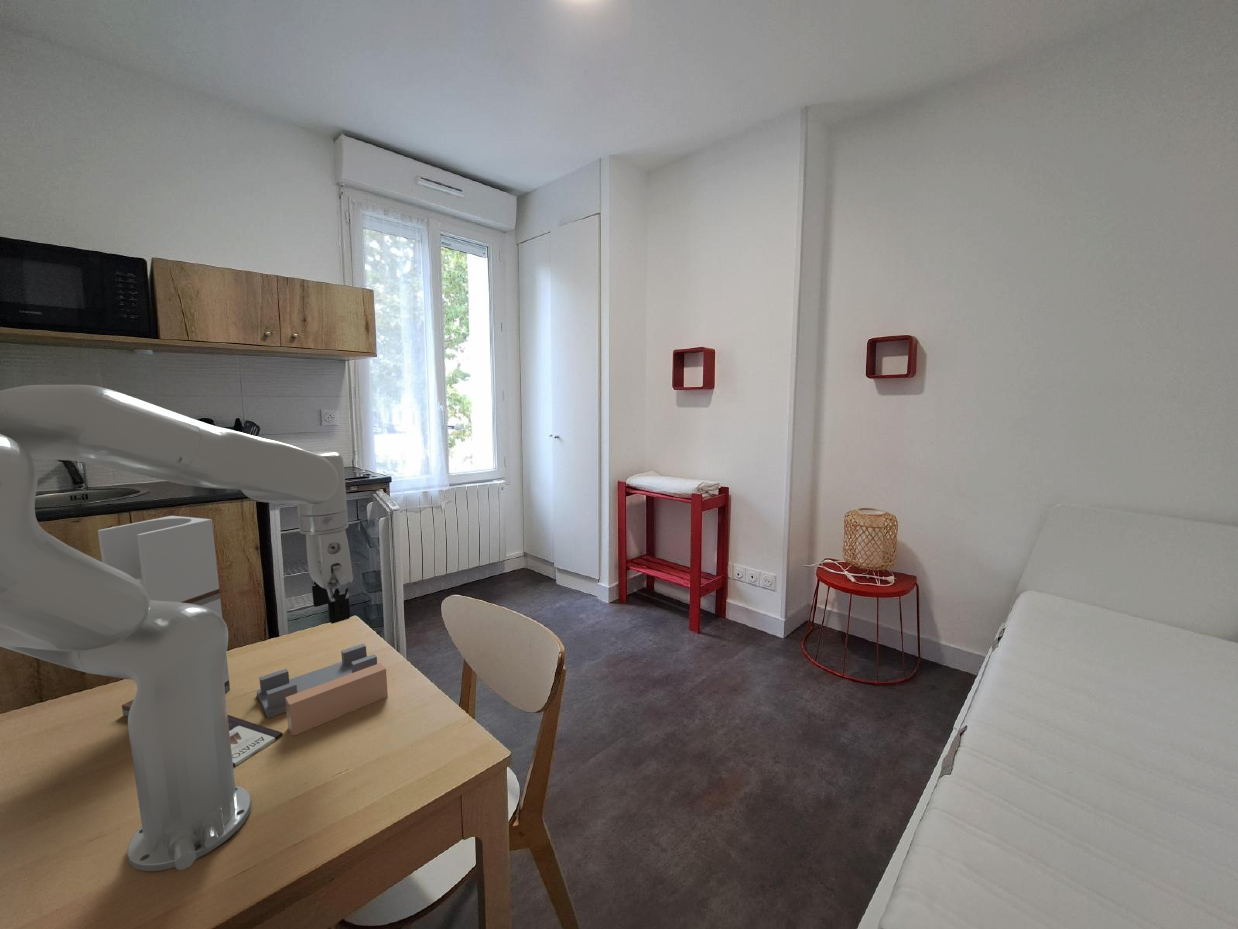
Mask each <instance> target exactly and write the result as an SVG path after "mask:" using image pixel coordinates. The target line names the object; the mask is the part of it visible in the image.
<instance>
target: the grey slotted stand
mask: <svg viewBox="0 0 1238 929" xmlns="http://www.w3.org/2000/svg"><path fill="white" fill-rule="evenodd" d="M366 645H367V644H366ZM366 645H365V643H361V644H358V645H355V646H352V647H349V648H346V649H343V650H341V651H340V653H341V661H340V662H337V663H334V664H331V665H328V666H326V667H322V668H319V669H317V670H314V671H311V672H308V673H304V674H302V675H298V676H295V677H293V678H290V674H289V670H288V668H284V669H281V670H277V671H275V672H272V673H269V674H266V675H265V674H264V675H263V676H259V677H258V678H259V687H260V689H257V690H256V696H257V698H258V700H259V703H260V705H261V707H262V709H263V711H264V713H265V716H266V717H267V719H270V718H273V717H276V716H279V715H280V714H283V713H285V712H286V713H287V710H286V700H285V697H288V696H291V695H293V694H296V693H299V692H302V691H304V690H307V689H310V688H313V687H315V686H318V685H321V684H324V683H326V682H329V681H332V680H335V679H337V678H340V677H343V676H346V675H349V674H351V673H354V672H357V671H360V670H362V669H365V668H368V667H371V666H373V665H376V664H378V657H377V655H376V654H375V653H373V654H371V655H367V646H366Z"/></svg>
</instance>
